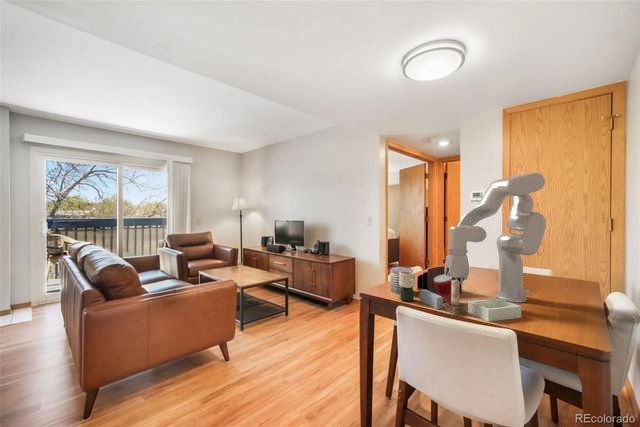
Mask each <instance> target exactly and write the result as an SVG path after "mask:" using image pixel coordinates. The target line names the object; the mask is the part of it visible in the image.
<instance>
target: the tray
mask: <svg viewBox="0 0 640 427" xmlns="http://www.w3.org/2000/svg"><path fill="white" fill-rule="evenodd" d="M467 313H469V314H471V315H473V316H475V317H478V318H480V319H482V320H484V321H486V322H494V321H495V322H496V321H505V320H513V319H521V318H522V305H520V304H516V303H514V302H510V301H505V300H502V299H499V298H491V299H490V298H489V299H488V298H487V299H479V300H470V301H469V300H468V302H467Z"/></svg>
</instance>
